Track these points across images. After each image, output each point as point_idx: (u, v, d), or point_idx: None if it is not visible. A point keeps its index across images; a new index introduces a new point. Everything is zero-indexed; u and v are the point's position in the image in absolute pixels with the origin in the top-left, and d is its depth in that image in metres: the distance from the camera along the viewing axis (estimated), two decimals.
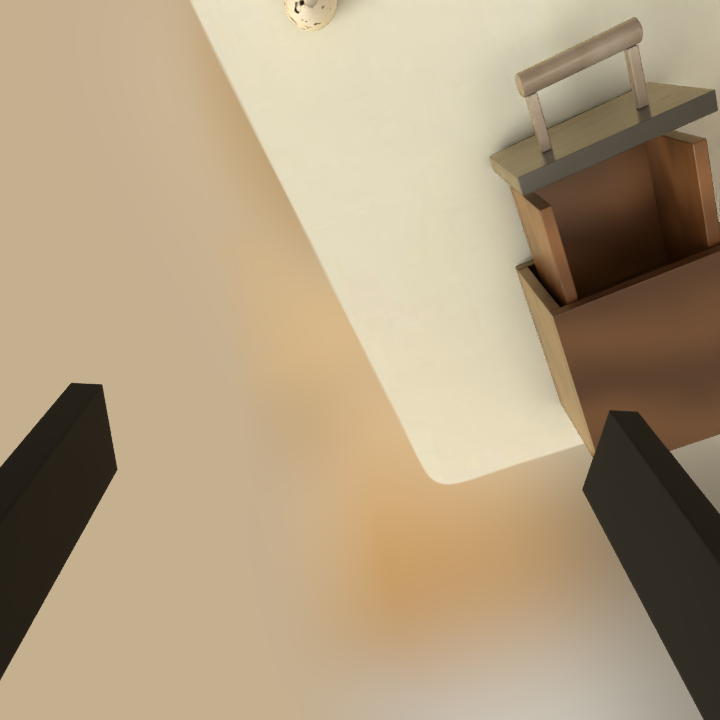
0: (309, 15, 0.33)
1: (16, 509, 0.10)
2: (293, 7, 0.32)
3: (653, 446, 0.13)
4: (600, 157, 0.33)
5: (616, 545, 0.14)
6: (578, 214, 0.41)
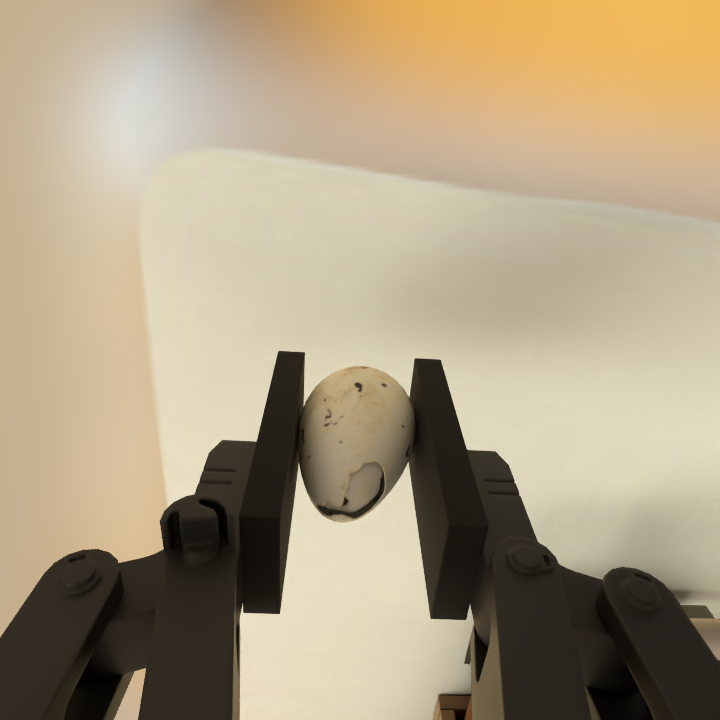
0: (344, 521, 0.13)
1: (291, 446, 0.13)
2: (318, 502, 0.13)
3: (437, 386, 0.15)
4: None
5: (412, 475, 0.15)
6: None
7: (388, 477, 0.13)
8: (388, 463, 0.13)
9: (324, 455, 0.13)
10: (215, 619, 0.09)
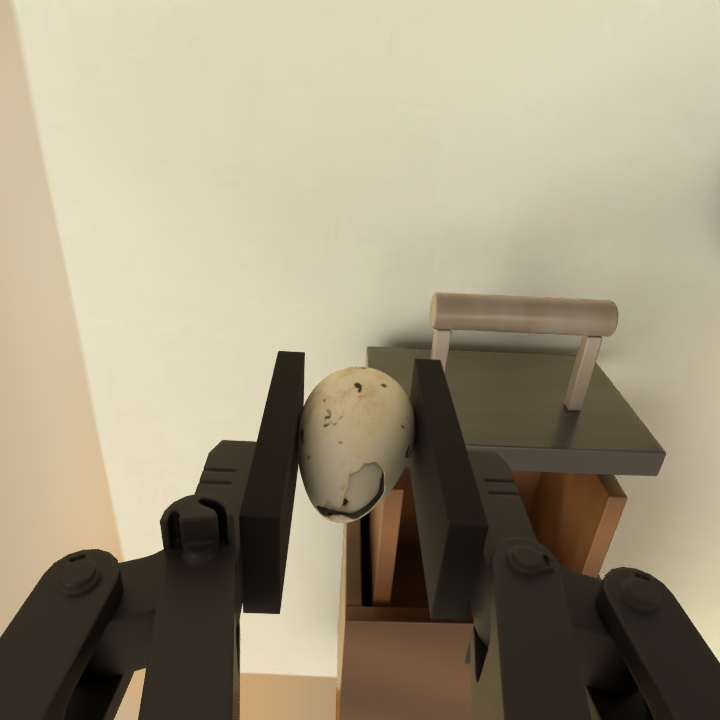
0: None
1: (291, 446, 0.13)
2: (317, 502, 0.13)
3: (437, 386, 0.15)
4: None
5: (412, 475, 0.15)
6: None
7: (387, 478, 0.13)
8: (388, 464, 0.13)
9: (323, 455, 0.13)
10: (215, 619, 0.09)
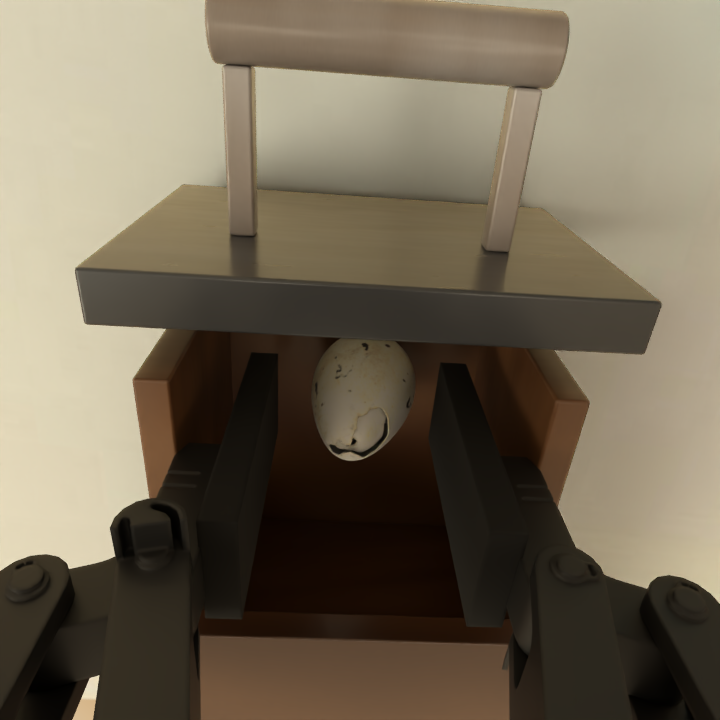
0: (352, 460, 0.15)
1: (256, 449, 0.12)
2: (330, 441, 0.15)
3: (464, 391, 0.15)
4: (326, 326, 0.11)
5: (439, 480, 0.15)
6: None
7: (390, 422, 0.15)
8: (390, 410, 0.15)
9: (335, 401, 0.15)
10: (170, 624, 0.09)
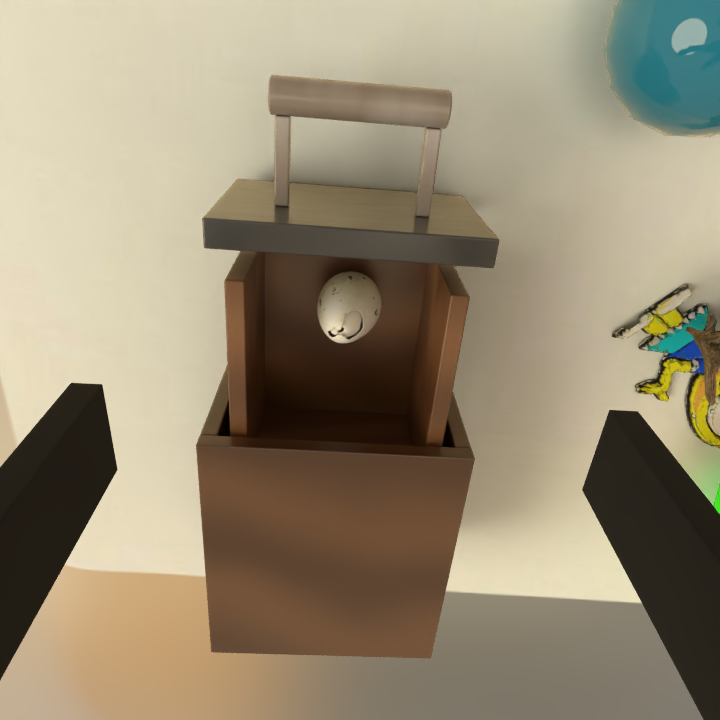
0: (341, 342, 0.26)
1: (16, 509, 0.10)
2: (328, 329, 0.25)
3: (653, 446, 0.13)
4: (328, 250, 0.22)
5: (616, 545, 0.14)
6: None
7: (364, 320, 0.26)
8: (364, 313, 0.26)
9: (332, 306, 0.26)
10: None
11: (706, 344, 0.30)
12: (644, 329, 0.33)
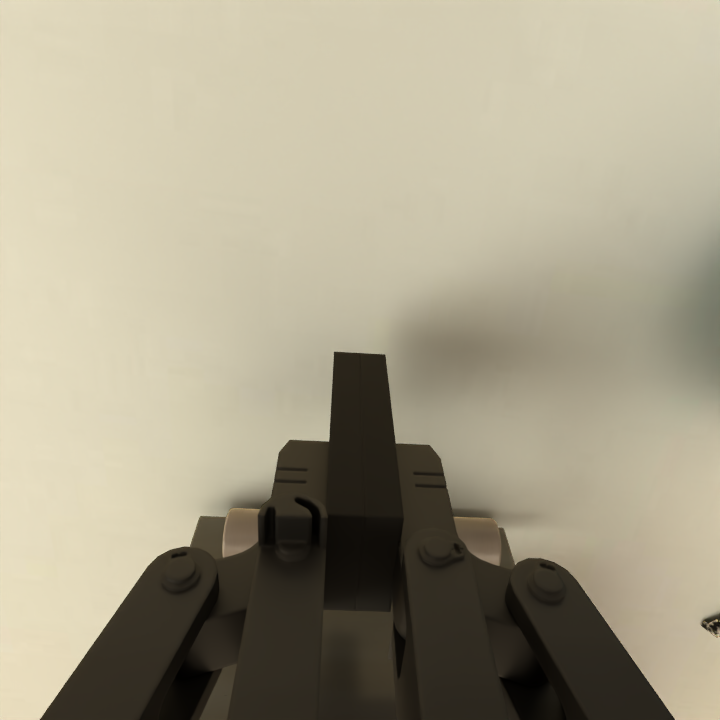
0: None
1: None
2: None
3: (376, 380, 0.15)
4: None
5: None
6: None
7: None
8: None
9: None
10: (304, 618, 0.09)
11: None
12: None
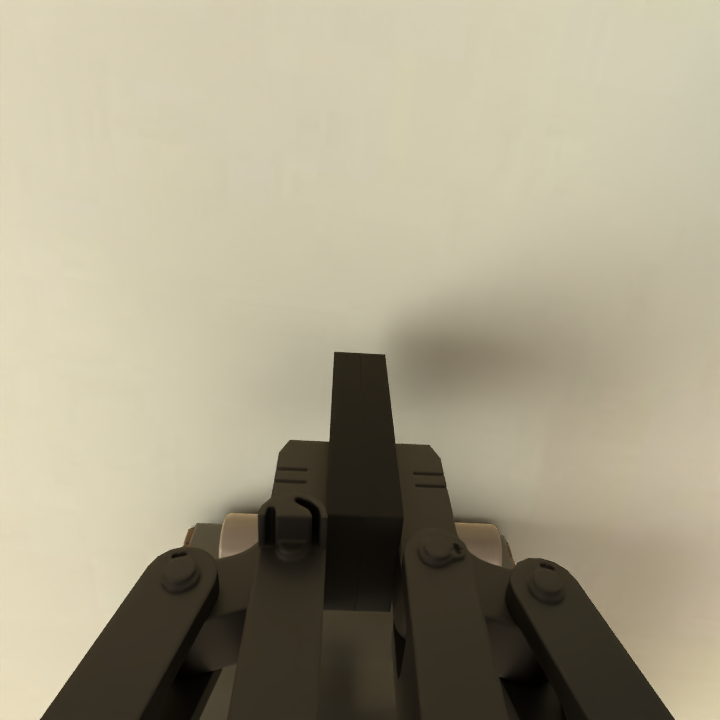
0: None
1: None
2: None
3: (376, 380, 0.15)
4: None
5: None
6: None
7: None
8: None
9: None
10: (304, 618, 0.09)
11: None
12: None
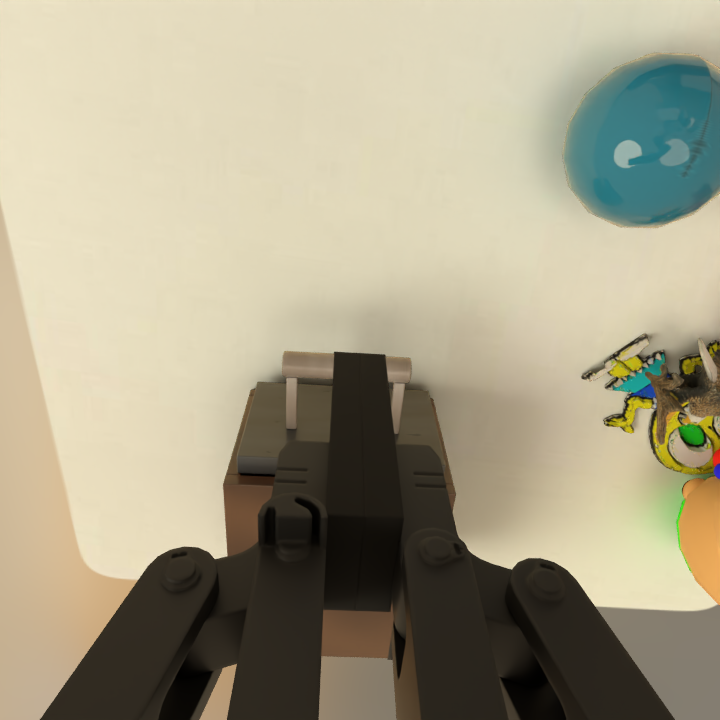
0: None
1: None
2: None
3: (376, 380, 0.15)
4: None
5: None
6: None
7: None
8: None
9: None
10: (304, 618, 0.09)
11: (660, 389, 0.35)
12: (609, 372, 0.38)
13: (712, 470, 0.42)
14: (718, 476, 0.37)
